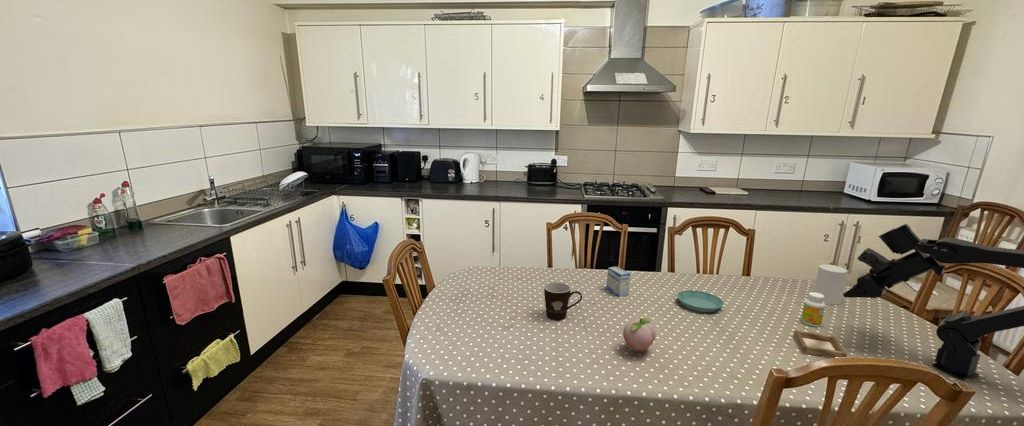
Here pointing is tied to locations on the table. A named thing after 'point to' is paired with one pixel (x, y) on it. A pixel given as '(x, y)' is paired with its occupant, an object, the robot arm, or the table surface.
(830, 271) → the cup
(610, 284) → the medicine box
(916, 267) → the robot arm
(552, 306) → the coffee mug
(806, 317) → the supplement bottle
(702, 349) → the table surface
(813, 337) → the tray
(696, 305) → the saucer
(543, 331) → the table surface
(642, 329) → the decorative fruit
